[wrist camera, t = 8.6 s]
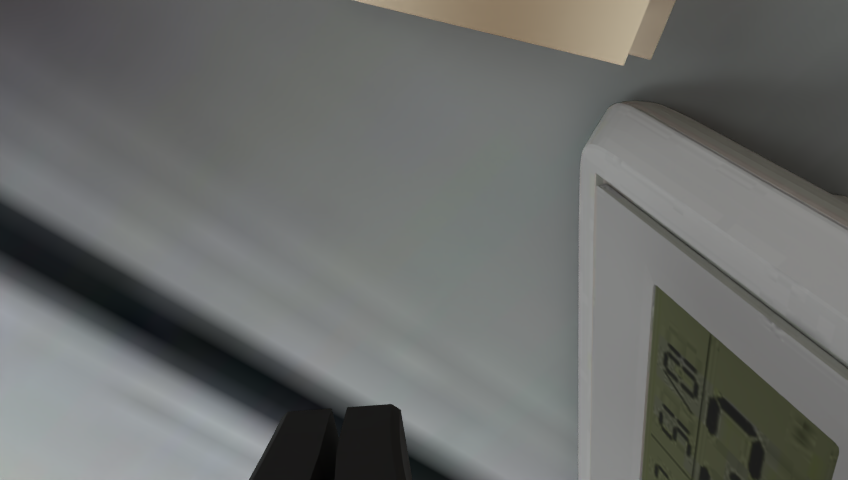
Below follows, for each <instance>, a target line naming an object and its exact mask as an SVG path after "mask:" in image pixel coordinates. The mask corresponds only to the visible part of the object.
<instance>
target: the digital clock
mask: <svg viewBox="0 0 848 480" xmlns="http://www.w3.org/2000/svg"><path fill="white" fill-rule="evenodd" d="M578 480H848V197H846V196H843V195H832V194H830V193H828V192H827V191H825V190H823V189H821V188H819V187H817V186H816V185H814V184H812V183H810V182H808V181H806V180H804V179H803V178H801V177H799V176H797V175H795V174H793V173H791V172H790V171H788V170H786V169H784V168H782V167H780V166H779V165H777V164H775V163H773V162H771V161H769V160H767V159H766V158H764V157H762V156H760V155H758V154H756V153H755V152H753V151H751V150H749V149H747V148H745V147H743V146H742V145H740V144H738V143H736V142H734V141H732V140H730V139H729V138H727V137H725V136H723V135H721V134H719V133H718V132H716V131H714V130H712V129H710V128H708V127H706V126H705V125H703V124H701V123H699V122H697V121H695V120H694V119H692V118H689V117H687V116H685V115H683V114H681V113H679V112H677V111H674V110H672V109H670V108H668V107H665V106H663V105H660V104H657V103H652V102H644V101H625V102H621V103H615V104H614V105H612V106H610V107H609V108H608V109H607V111H606V113H605V114H604V116H603V117H602V119H601V120H600V122H599V124H598V125H597V127H596V128H595V130H594V132H593V133H592V135H591V137H590V138H589V140H588V142H587V143H586V145H585V147H584V149H583V151H582V155H581V162H580V185H579V312H578Z"/></svg>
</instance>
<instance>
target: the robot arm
mask: <svg viewBox="0 0 848 480" xmlns="http://www.w3.org/2000/svg"><path fill="white" fill-rule="evenodd" d="M249 480H412V475H411V469H410V463H409V457H408V451H407V445H406V439H405V433H404V427H403V421H402V415H401V410H400V409H398V408H397V407H395V406H394V405H392V404H387V405H373V406H359V407H347V410H346V414H345V418H344V422H343V425H342V429H341V434H340V438H339V437H338V433H337V429H336V425H335V420H334V416H333V412H332V409H319V410H305V411H292V412H287V413H286V414H285V415H284V416H283V417H282V419H281V421H280V423H279V425H278V426H277V428H276V430H275V432H274V434H273V436H272V438H271V440H270V442H269V444H268V446H267V448H266V450H265V451H264V453H263V455H262V457H261V459H260V461H259V463H258V464H257V466H256V468H255V470H254V472H253V473H252V475H251V477H250V479H249Z"/></svg>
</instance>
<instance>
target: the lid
mask: <svg viewBox="0 0 848 480" xmlns="http://www.w3.org/2000/svg"><path fill="white" fill-rule="evenodd" d="M354 1H358V2H362V3H366V4H370V5H374V6H378V7H382V8H387V9H391V10H395V11H399V12H403V13H407V14H411V15H416V16H420V17H424V18H428V19H432V20H436V21H440V22H445V23H449V24H453V25H457V26H461V27H465V28H469V29H474V30H478V31H482V32H486V33H490V34H494V35H498V36H503V37H507V38H511V39H515V40H519V41H523V42H527V43H531V44H536V45H540V46H544V47H548V48H552V49H556V50H560V51H565V52H569V53H573V54H577V55H581V56H585V57H589V58H594V59H598V60H602V61H606V62H610V63H614V64H618V65H623V66H624V64H625V61H626V59H627V56H628V54H629V55H633V56H637V57H641V58H645V59H649V60H651V58H652V56H653V54H654V51H655V49H656V47H657V44H658V42H659V39H660V37H661V35H662V32H663V30H664V28H665V25H666V23H667V20H668V18H669V16H670V13H671V11H672V8H673V6H674V4H675V1H676V0H354Z"/></svg>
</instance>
